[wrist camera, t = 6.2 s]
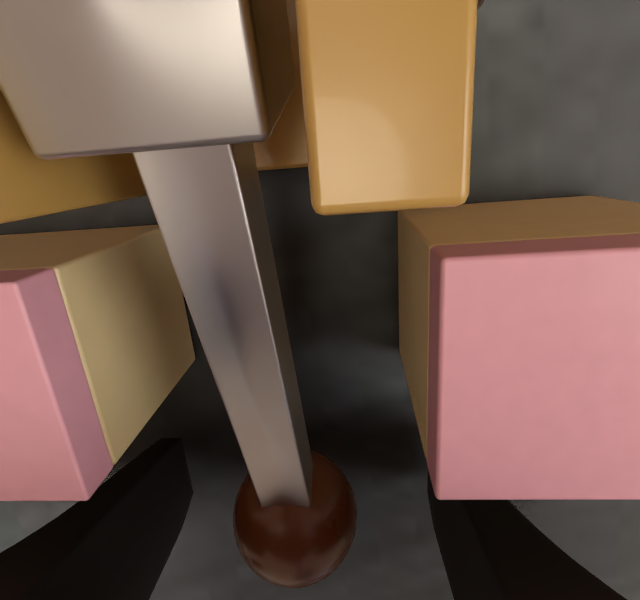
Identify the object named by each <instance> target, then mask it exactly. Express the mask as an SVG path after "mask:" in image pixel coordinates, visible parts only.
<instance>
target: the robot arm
mask: <svg viewBox="0 0 640 600" xmlns="http://www.w3.org/2000/svg"><path fill="white" fill-rule="evenodd" d="M192 495H193V489H192V485H191V480H190V476H189V472H188V467H187V463H186V458H185V454H184V449H183V445H182V440H181V438H161V439H160V440H158V441H157V442H155V443H154V444H153V445H151V446H150V447H149V448H147V449H146V450H145V451H144V452H142V453H141V454H140V455H139V456H137V457H136V458H135V459H134V460H132V461H131V462H130V463H129V464H127V465H126V466H125V467H123V468H122V469H121V470H120V471H118V472H117V473H116V474H115V475H113V476H112V477H111V478H109V479H108V480H107V481H106V482H104V483H103V484H102V485H101V486H99V487H98V488H97V490H96V491H95V492H94V494H93V495H92V496H91V497H90V499H89V500H86V501H79V502H78V503H76V504H75V505H73V506H72V507H71V508H69V509H68V510H67V511H65V512H64V513H62V514H61V515H60V516H58V517H57V518H55V519H54V520H52V521H51V522H49V523H48V524H46V525H45V526H43V527H42V528H40V529H39V530H37V531H36V532H34V533H32V534H31V535H29V536H28V537H26V538H25V539H23V540H21V541H20V542H18V543H16V544H15V545H13V546H12V547H10V548H8V549H6V550H5V551H3V552H1V553H0V600H149V598H150V596H151V594H152V592H153V590H154V587H155V585H156V583H157V581H158V579H159V577H160V574H161V572H162V570H163V568H164V566H165V564H166V562H167V559H168V557H169V555H170V553H171V551H172V549H173V546H174V544H175V542H176V540H177V538H178V535H179V533H180V531H181V529H182V526H183V523H184V520H185V517H186V514H187V511H188V508H189V505H190V501H191V498H192ZM428 497H429V503H430V509H431V514H432V520H433V526H434V530H435V534H436V538H437V541H438V545H439V548H440V552H441V555H442V559H443V562H444V566H445V569H446V573H447V576H448V580H449V583H450V586H451V590H452V593H453V597H454V600H627V599H625V598H624V597H622V596H621V595H620V594H618V593H617V592H615V591H614V590H613V589H611V588H610V587H609V586H607V585H606V584H605V583H603V582H602V581H601V580H599V579H598V578H597V577H595V576H594V575H593V574H591V573H590V572H589V571H587V570H586V569H585V568H583V567H582V566H581V565H580V564H578V563H577V562H576V561H574V560H573V559H572V558H571V557H570V556H568V555H567V554H566V553H565V552H563V551H562V550H561V549H560V548H559V547H558V546H556V545H555V544H554V543H553V542H552V541H551V540H550V539H548V538H547V537H546V536H545V535H544V534H543V533H542V532H541V531H540V530H538V529H537V528H536V527H535V526H534V525H533V524H532V523H531V522H530V521H529V520H528V519H527V518H526V517H525V516H524V515H523V514H522V513H521V512H520V511H519V510H518V509H517V508H516V507H515V506H514V505H513V504H512V503H511V502H510V501H509V500H439V499H437V498H436V496H435V494H434V490H433V486H432V482H431V478H430V474H429V470H428Z"/></svg>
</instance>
